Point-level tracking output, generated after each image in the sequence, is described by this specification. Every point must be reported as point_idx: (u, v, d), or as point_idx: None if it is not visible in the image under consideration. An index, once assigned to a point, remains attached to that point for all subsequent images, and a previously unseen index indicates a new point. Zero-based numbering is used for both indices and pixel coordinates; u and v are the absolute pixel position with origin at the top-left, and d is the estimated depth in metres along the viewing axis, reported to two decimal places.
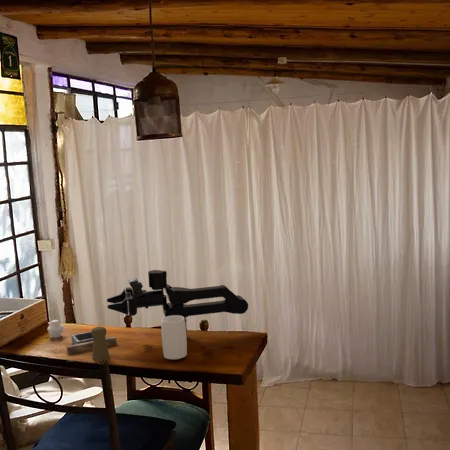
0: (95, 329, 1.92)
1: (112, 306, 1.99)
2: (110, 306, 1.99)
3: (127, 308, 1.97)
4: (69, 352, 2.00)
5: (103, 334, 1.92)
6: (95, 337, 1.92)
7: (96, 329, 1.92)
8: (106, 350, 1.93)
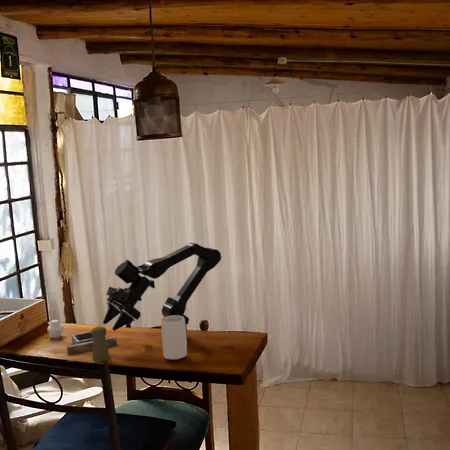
0: (95, 329, 1.92)
1: (116, 325, 1.92)
2: (115, 327, 1.91)
3: (130, 316, 1.91)
4: (69, 352, 2.00)
5: (103, 334, 1.92)
6: (95, 337, 1.92)
7: (96, 329, 1.92)
8: (106, 350, 1.93)
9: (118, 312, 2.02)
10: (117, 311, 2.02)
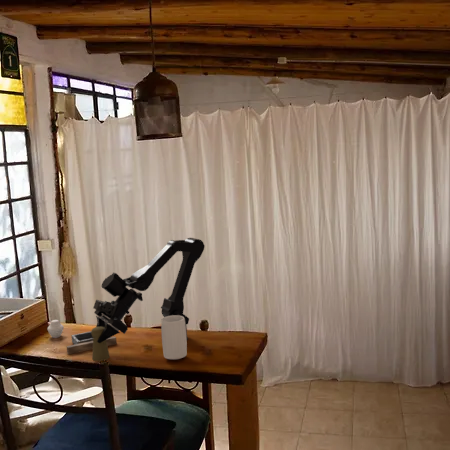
0: (95, 329, 1.92)
1: (101, 338, 1.91)
2: (100, 340, 1.91)
3: (115, 329, 1.90)
4: (69, 352, 2.00)
5: None
6: (95, 337, 1.92)
7: (96, 329, 1.92)
8: (106, 350, 1.93)
9: None
10: None
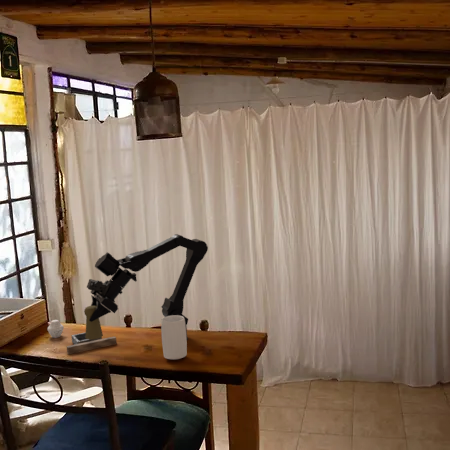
0: (88, 308, 1.94)
1: (93, 316, 1.93)
2: (92, 318, 1.93)
3: (106, 308, 1.92)
4: (69, 352, 2.00)
5: None
6: (87, 316, 1.94)
7: (88, 308, 1.94)
8: (98, 329, 1.95)
9: None
10: None
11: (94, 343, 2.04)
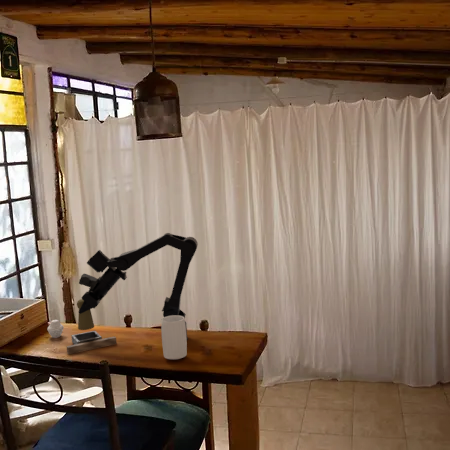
0: (79, 300, 2.08)
1: (81, 309, 2.06)
2: (80, 311, 2.06)
3: None
4: (69, 352, 2.00)
5: None
6: (78, 307, 2.08)
7: (79, 300, 2.08)
8: (87, 321, 2.08)
9: None
10: None
11: (94, 343, 2.04)
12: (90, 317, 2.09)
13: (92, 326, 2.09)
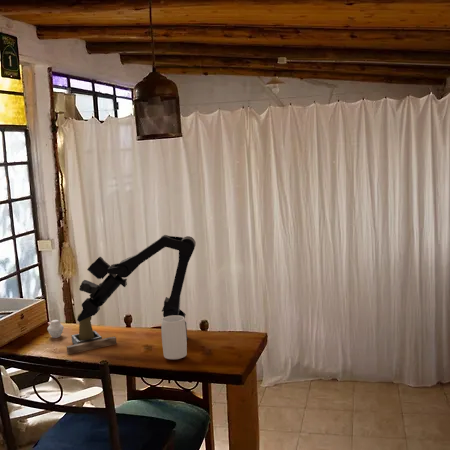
0: None
1: (80, 317, 2.05)
2: (79, 318, 2.05)
3: None
4: (69, 352, 2.00)
5: (85, 320, 2.08)
6: None
7: (79, 314, 2.09)
8: (88, 335, 2.09)
9: (99, 305, 2.15)
10: (98, 304, 2.15)
11: (94, 343, 2.04)
12: (91, 331, 2.10)
13: None
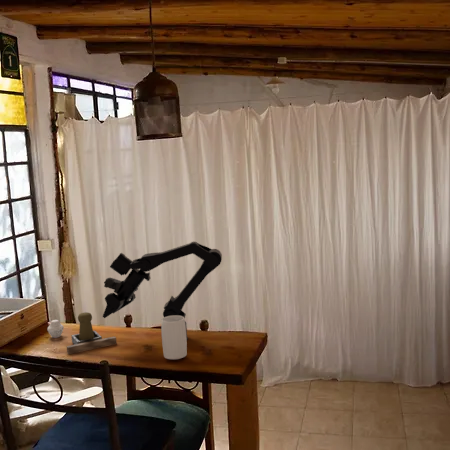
0: (80, 314, 2.09)
1: (105, 313, 2.05)
2: (104, 315, 2.05)
3: None
4: (69, 352, 2.00)
5: (85, 320, 2.08)
6: (79, 321, 2.09)
7: (80, 314, 2.09)
8: (88, 335, 2.09)
9: (126, 303, 2.14)
10: (125, 302, 2.14)
11: (94, 343, 2.04)
12: (91, 331, 2.10)
13: None
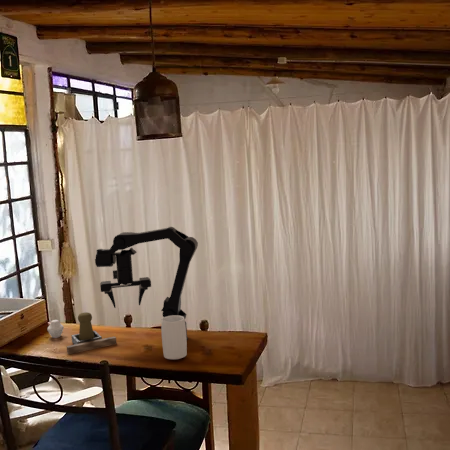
0: (80, 314, 2.09)
1: (113, 302, 2.10)
2: (113, 305, 2.10)
3: None
4: (69, 352, 2.00)
5: (85, 320, 2.08)
6: (79, 321, 2.09)
7: (80, 314, 2.09)
8: (88, 335, 2.09)
9: (139, 290, 2.09)
10: (139, 289, 2.10)
11: (94, 343, 2.04)
12: (91, 331, 2.10)
13: None
